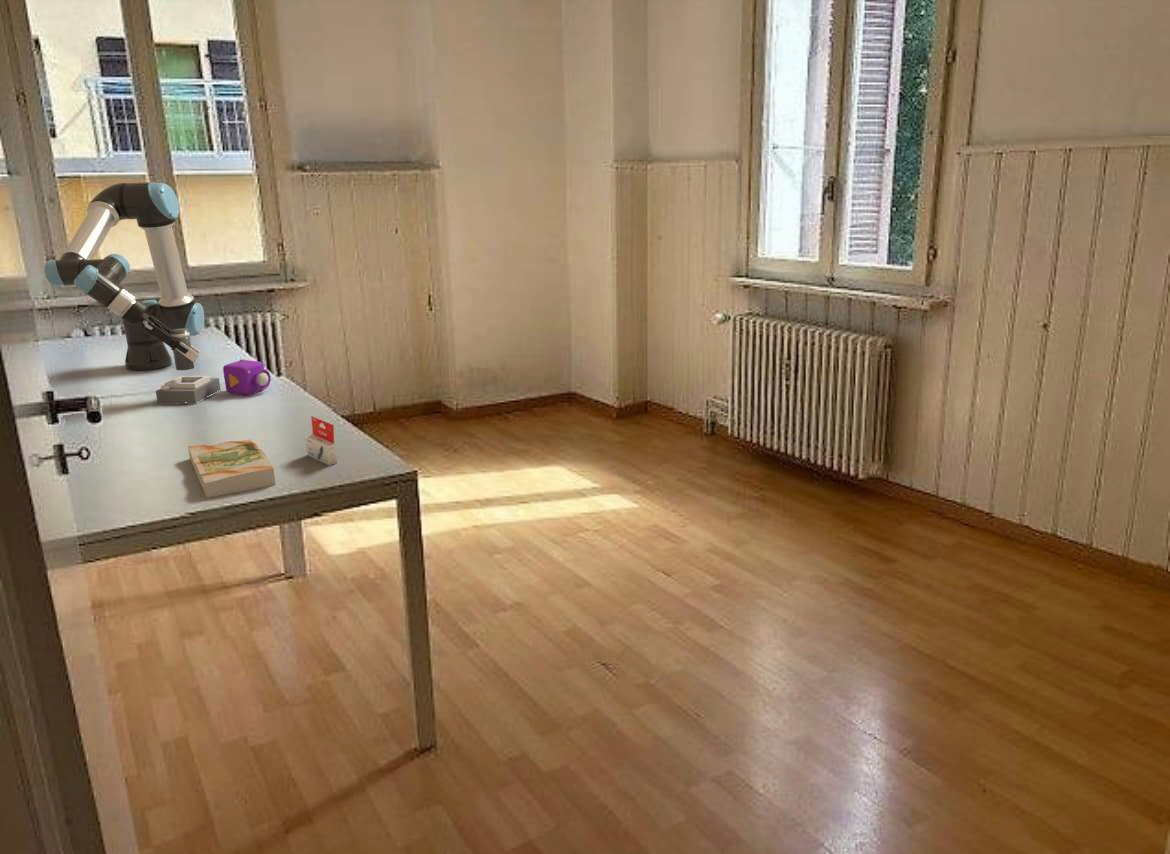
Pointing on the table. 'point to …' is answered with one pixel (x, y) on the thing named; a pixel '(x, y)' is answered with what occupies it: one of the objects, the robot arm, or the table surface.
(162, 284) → the robot arm
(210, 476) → the topographic model
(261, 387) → the toy camera
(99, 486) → the table surface
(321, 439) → the ink cartridge box
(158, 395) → the block
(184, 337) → the dark grey cylinder
